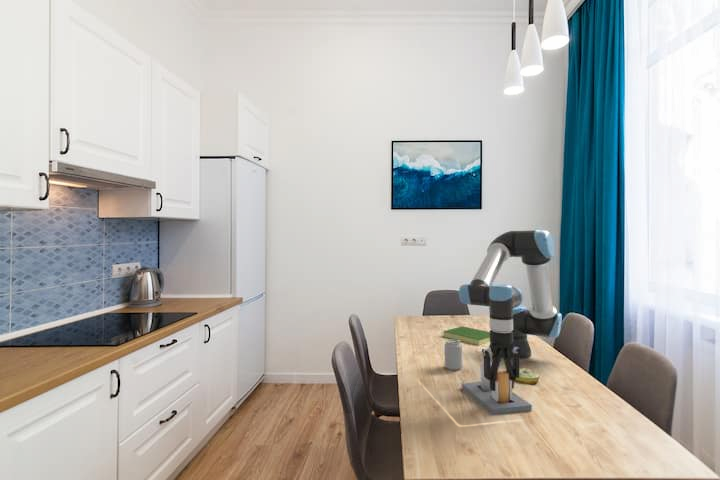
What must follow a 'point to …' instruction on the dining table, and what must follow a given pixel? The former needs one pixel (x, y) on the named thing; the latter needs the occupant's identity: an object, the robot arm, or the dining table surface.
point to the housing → (491, 405)
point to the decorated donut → (527, 376)
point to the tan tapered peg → (503, 386)
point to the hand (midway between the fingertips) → (502, 398)
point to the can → (453, 355)
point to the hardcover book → (468, 335)
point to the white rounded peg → (484, 379)
